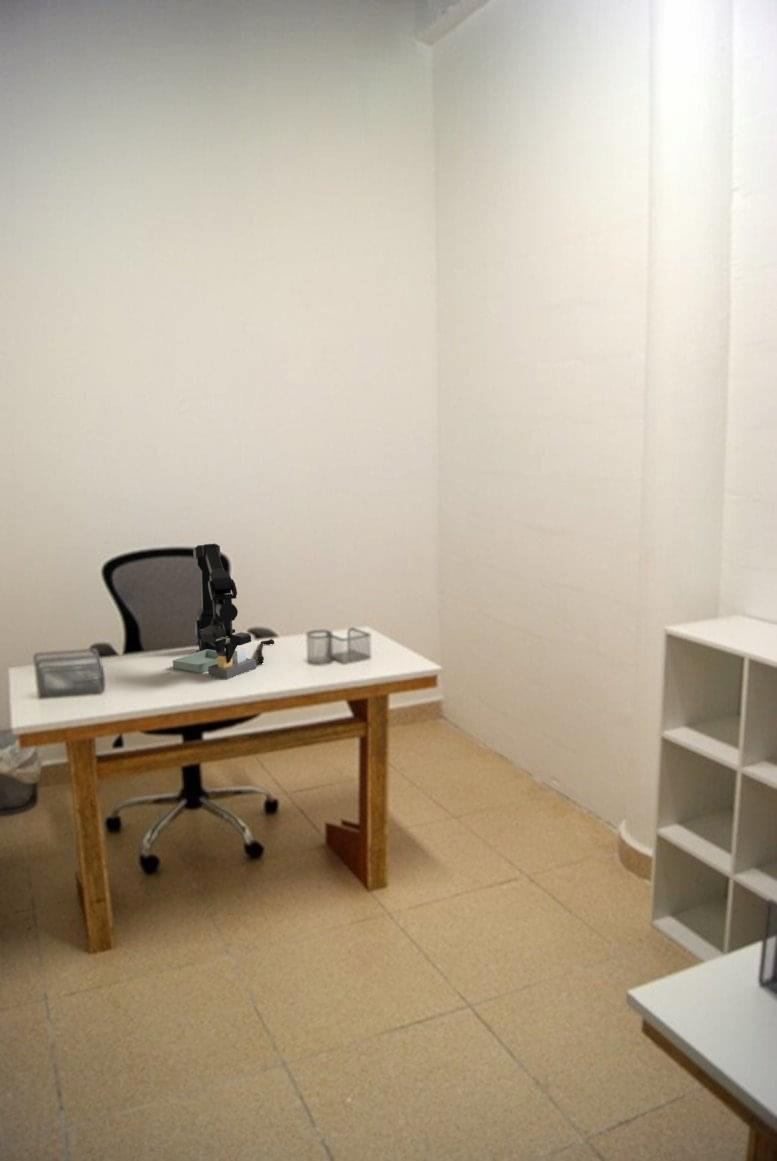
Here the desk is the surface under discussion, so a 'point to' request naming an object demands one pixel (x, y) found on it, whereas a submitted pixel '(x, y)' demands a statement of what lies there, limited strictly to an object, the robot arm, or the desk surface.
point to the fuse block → (232, 669)
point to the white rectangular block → (239, 655)
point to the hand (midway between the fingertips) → (225, 662)
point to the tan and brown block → (223, 660)
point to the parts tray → (196, 661)
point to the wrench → (259, 652)
